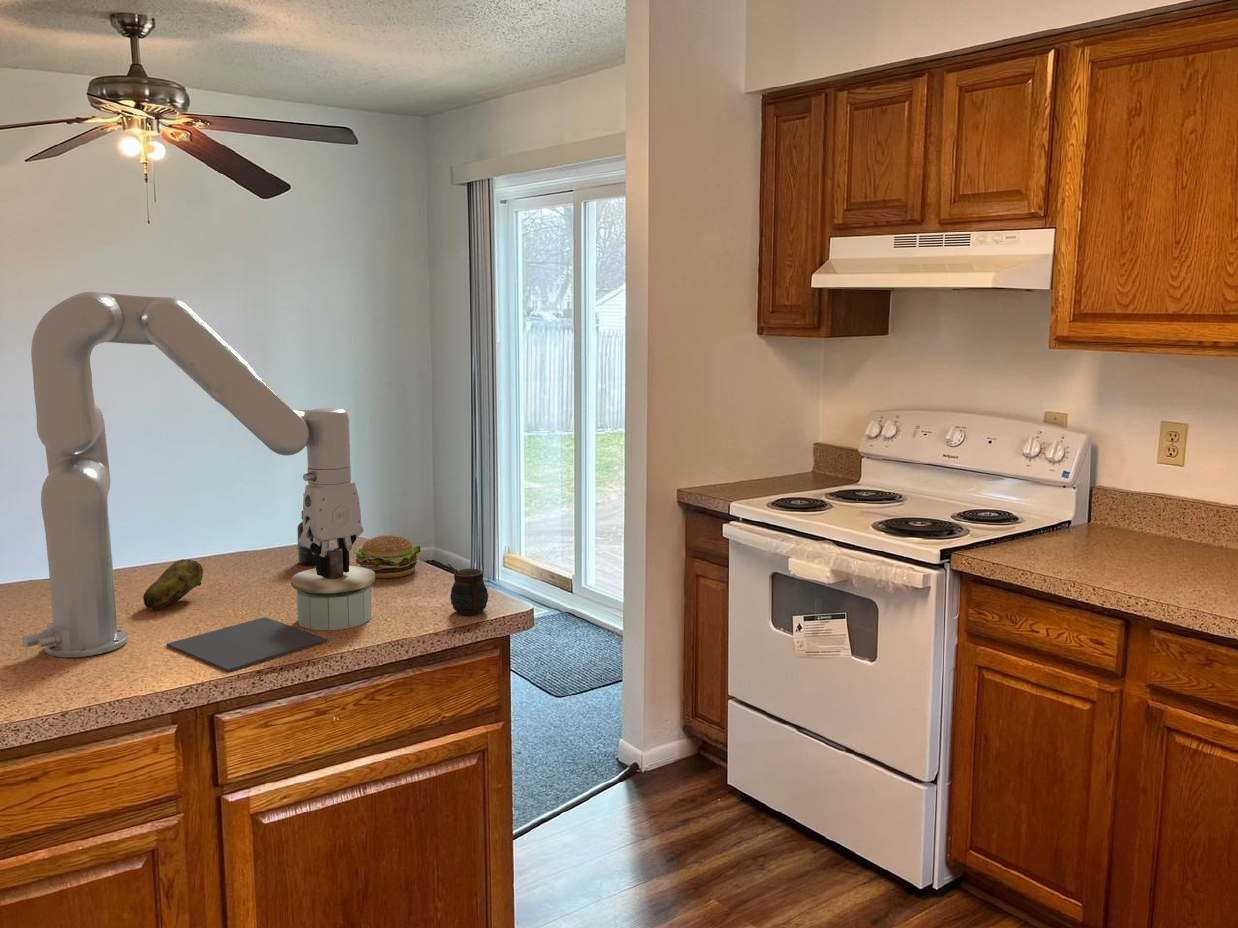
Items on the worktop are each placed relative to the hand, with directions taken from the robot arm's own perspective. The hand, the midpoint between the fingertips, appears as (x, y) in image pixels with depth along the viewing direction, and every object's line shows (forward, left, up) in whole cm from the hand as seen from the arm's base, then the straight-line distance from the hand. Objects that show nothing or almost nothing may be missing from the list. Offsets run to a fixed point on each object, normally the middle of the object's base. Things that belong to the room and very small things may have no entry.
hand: (333, 572), depth 188 cm
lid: (0, 0, -2) cm, 2 cm away
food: (+27, +18, -9) cm, 34 cm away
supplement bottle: (+22, +37, -9) cm, 44 cm away
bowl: (0, 0, -9) cm, 9 cm away
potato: (-14, +32, -9) cm, 36 cm away
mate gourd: (+19, -16, -9) cm, 27 cm away
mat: (-18, 0, -9) cm, 20 cm away
